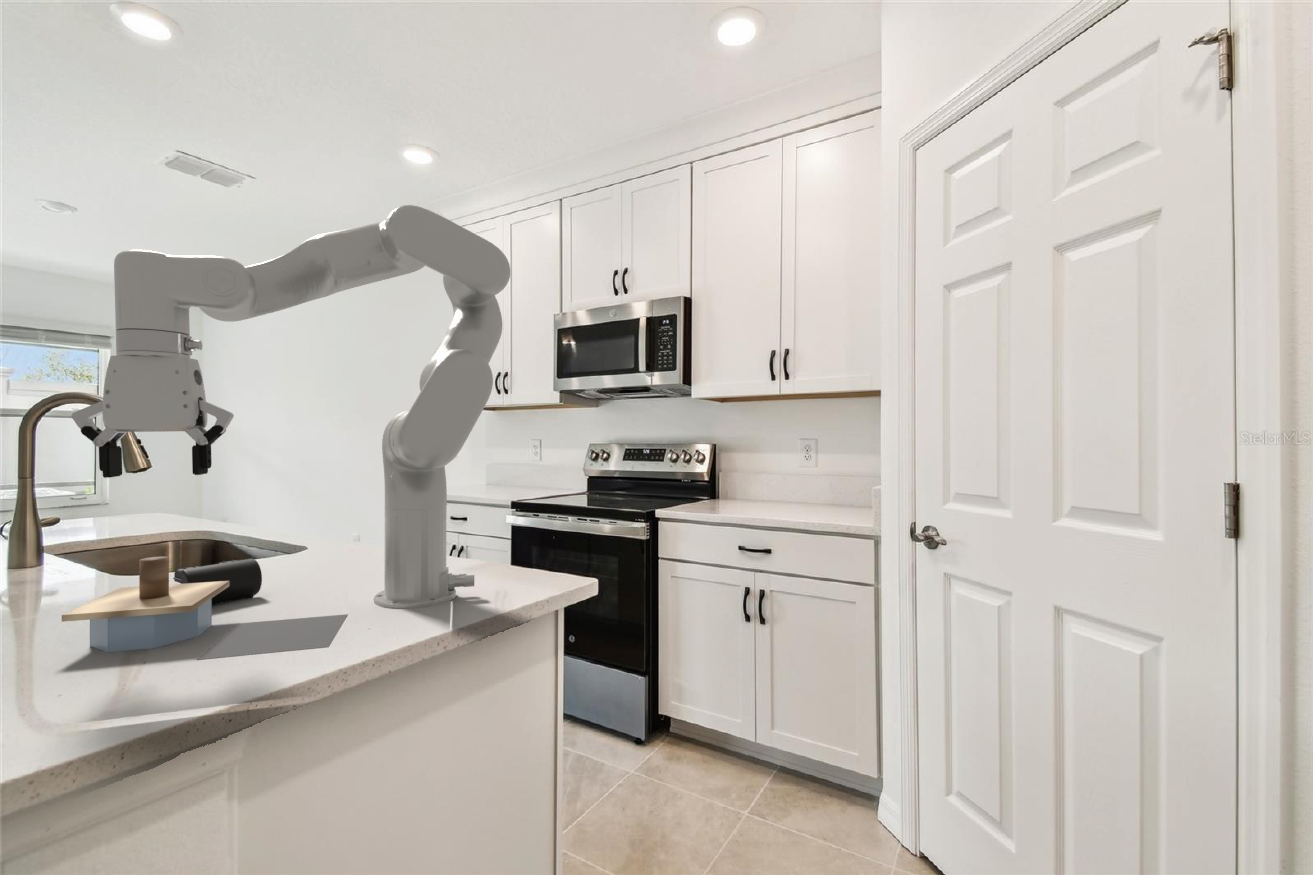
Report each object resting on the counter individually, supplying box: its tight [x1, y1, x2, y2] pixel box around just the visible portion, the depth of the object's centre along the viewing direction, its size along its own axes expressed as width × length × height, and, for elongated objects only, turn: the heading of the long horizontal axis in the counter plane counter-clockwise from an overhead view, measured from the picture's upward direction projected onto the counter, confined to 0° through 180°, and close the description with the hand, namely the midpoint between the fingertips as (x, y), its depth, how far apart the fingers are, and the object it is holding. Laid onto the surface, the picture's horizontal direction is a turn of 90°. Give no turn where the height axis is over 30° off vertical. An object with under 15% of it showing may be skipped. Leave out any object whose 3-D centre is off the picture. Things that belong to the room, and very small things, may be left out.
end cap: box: [172, 558, 263, 606], centre depth 94 cm, size 10×7×7 cm
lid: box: [61, 556, 229, 622], centre depth 79 cm, size 13×13×6 cm
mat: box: [196, 614, 349, 661], centre depth 79 cm, size 14×14×1 cm
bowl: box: [89, 598, 213, 653], centre depth 79 cm, size 11×11×5 cm
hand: (157, 475), depth 79 cm, fingers open, 9 cm apart
